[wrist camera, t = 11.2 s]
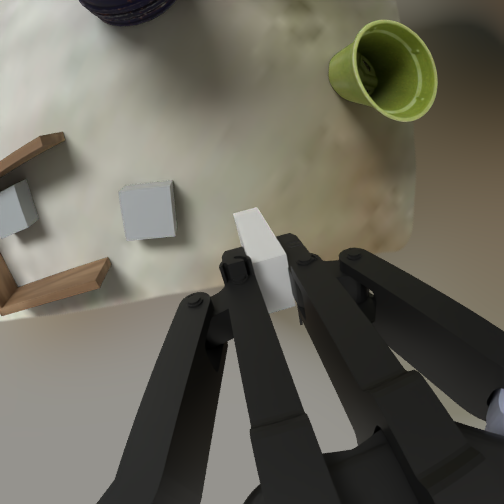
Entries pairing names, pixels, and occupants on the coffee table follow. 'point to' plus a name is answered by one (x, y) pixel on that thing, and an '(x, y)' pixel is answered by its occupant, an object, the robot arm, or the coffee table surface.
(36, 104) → the coffee table surface
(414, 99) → the plant pot
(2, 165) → the frame
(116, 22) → the storage jar
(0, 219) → the tile
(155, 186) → the tile
